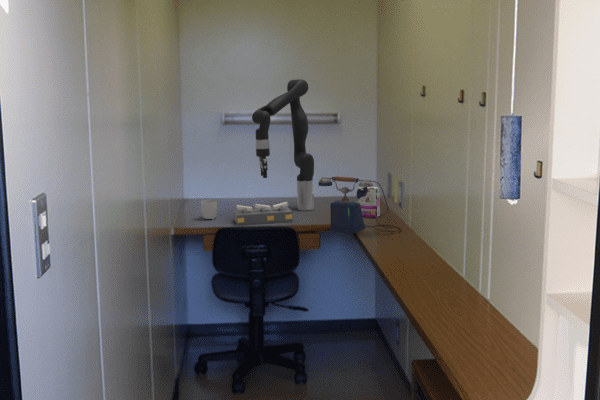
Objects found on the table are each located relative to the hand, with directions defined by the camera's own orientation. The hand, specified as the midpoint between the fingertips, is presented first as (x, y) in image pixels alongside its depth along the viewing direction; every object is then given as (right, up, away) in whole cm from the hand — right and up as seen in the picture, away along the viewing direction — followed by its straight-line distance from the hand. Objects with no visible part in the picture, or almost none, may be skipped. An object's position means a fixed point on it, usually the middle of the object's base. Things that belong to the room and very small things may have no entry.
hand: (264, 176), depth 351 cm
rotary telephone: (+51, -28, -31) cm, 66 cm away
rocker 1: (-10, -18, -8) cm, 22 cm away
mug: (-31, -23, +6) cm, 39 cm away
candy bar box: (+58, -22, 0) cm, 62 cm away
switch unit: (0, -24, -4) cm, 25 cm away
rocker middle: (0, -17, -6) cm, 18 cm away
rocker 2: (+9, -16, -4) cm, 19 cm away
